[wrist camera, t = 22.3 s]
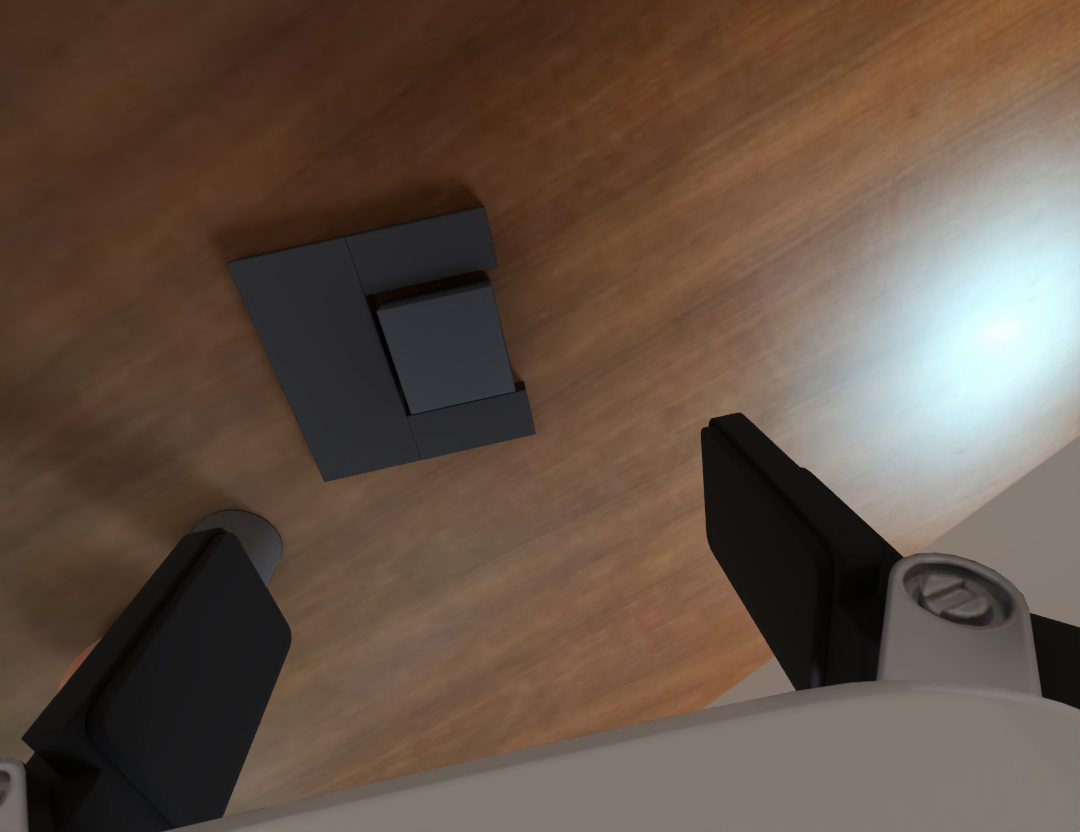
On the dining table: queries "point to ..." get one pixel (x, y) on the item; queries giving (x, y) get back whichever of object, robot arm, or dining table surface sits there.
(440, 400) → the grey block
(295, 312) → the dark grey notched block
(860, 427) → the dining table surface
